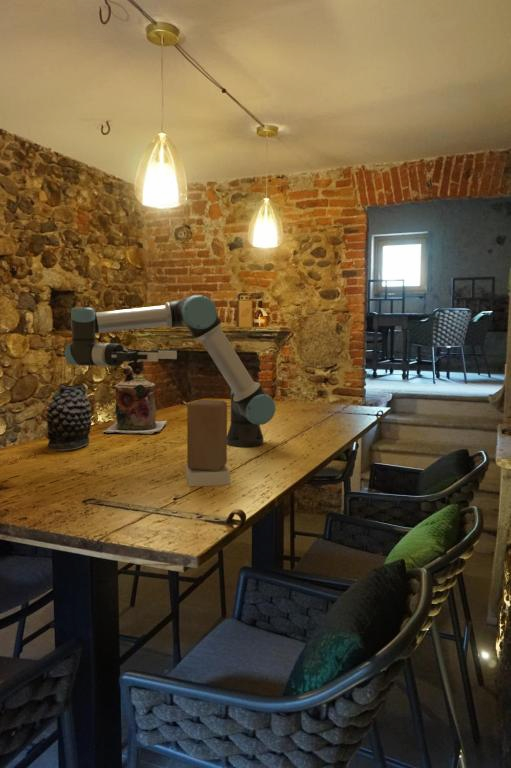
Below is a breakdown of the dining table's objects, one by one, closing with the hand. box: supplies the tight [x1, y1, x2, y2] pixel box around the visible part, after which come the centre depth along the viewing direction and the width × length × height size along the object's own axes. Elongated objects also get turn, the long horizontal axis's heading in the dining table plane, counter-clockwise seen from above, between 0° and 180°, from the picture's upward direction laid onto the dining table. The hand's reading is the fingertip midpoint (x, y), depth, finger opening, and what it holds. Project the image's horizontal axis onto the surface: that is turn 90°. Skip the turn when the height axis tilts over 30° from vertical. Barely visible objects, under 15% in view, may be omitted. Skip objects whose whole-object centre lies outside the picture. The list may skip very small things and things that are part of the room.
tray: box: [185, 463, 231, 487], centre depth 169 cm, size 12×12×4 cm
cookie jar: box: [102, 360, 168, 435], centre depth 249 cm, size 25×25×32 cm
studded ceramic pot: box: [44, 382, 93, 452], centre depth 211 cm, size 21×15×25 cm
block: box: [186, 399, 228, 471], centre depth 168 cm, size 10×10×20 cm
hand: (167, 355), depth 177 cm, fingers open, 13 cm apart
